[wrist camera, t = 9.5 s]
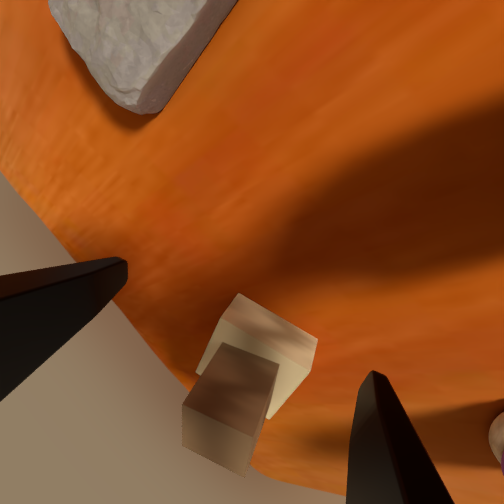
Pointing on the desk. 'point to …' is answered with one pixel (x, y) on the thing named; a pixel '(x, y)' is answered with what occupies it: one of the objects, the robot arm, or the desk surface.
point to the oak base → (265, 344)
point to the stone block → (139, 43)
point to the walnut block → (229, 407)
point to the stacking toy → (497, 439)
